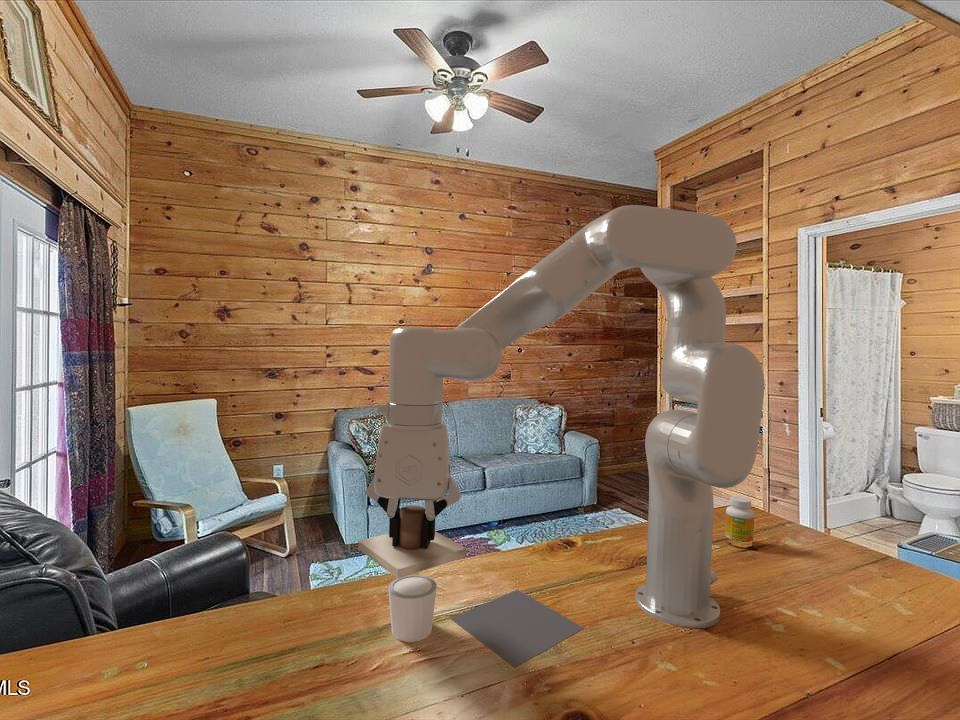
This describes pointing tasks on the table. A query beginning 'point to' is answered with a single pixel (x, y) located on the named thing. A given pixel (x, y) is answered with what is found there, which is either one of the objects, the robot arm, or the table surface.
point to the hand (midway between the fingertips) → (412, 542)
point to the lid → (411, 547)
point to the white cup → (412, 607)
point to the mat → (516, 626)
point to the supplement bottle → (739, 520)
